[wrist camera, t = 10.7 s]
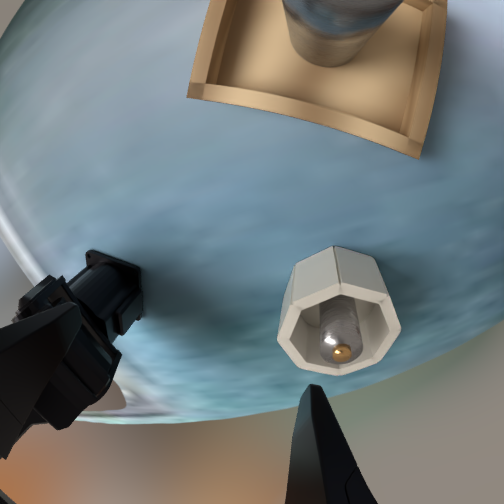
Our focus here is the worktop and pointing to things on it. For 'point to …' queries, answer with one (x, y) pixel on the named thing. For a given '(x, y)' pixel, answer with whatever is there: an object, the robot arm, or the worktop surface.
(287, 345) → the cup
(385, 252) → the worktop surface
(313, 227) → the worktop surface
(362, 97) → the wooden tray
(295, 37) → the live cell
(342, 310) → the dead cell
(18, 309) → the robot arm
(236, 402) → the worktop surface
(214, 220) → the worktop surface
